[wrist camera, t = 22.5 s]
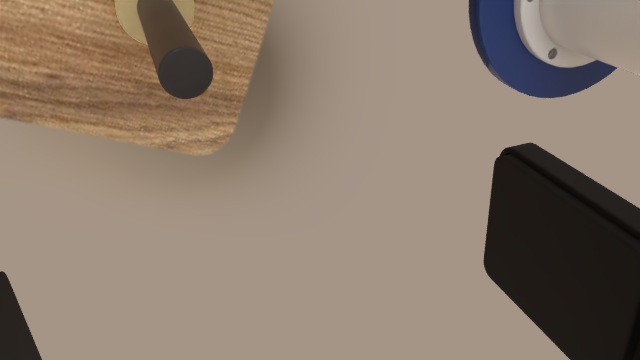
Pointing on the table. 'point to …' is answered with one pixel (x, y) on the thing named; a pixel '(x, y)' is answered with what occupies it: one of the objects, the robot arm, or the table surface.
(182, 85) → the brush
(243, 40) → the table surface
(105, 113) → the table surface
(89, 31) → the table surface
